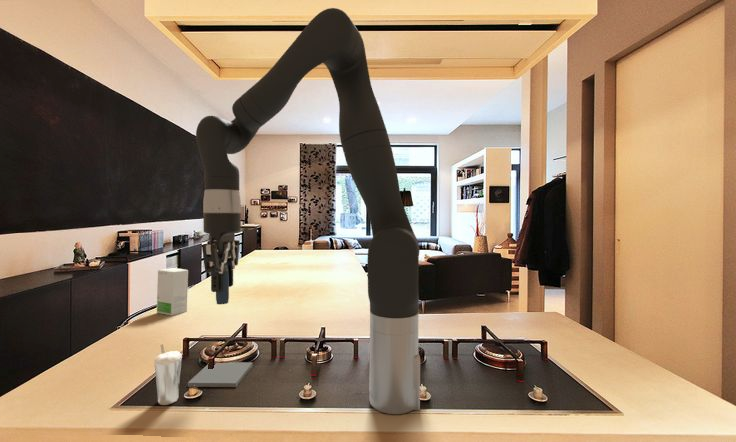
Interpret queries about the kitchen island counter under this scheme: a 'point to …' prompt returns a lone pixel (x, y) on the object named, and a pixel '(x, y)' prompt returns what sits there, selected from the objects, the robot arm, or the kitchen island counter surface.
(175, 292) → the skincare box
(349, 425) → the kitchen island counter surface
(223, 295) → the vaping device
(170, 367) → the milkshake
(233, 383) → the charcoal mat
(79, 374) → the kitchen island counter surface
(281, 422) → the kitchen island counter surface
